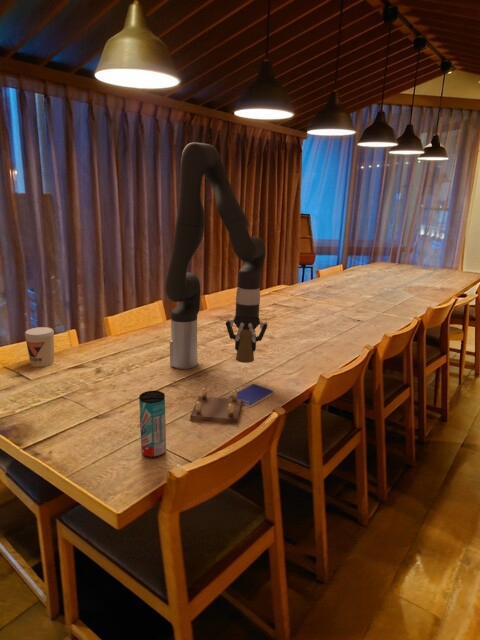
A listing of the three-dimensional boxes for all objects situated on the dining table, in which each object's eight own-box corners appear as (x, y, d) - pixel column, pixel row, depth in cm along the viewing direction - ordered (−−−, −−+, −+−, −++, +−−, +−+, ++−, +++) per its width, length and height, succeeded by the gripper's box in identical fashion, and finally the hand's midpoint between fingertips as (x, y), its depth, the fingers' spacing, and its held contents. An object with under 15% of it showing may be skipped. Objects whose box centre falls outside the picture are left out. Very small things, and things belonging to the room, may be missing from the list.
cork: (232, 356, 150) (234, 325, 147) (249, 354, 152) (251, 324, 149) (240, 363, 145) (241, 331, 142) (257, 361, 147) (259, 329, 144)
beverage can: (145, 444, 112) (143, 389, 108) (168, 446, 112) (167, 391, 108) (138, 458, 107) (135, 400, 102) (162, 460, 106) (161, 402, 102)
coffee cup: (22, 365, 158) (18, 332, 155) (41, 356, 167) (38, 325, 163) (43, 369, 155) (39, 336, 152) (62, 360, 164) (59, 328, 160)
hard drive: (249, 404, 133) (273, 390, 142) (228, 395, 137) (253, 383, 147) (249, 408, 133) (273, 395, 142) (228, 400, 138) (252, 387, 147)
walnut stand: (190, 420, 124) (190, 404, 123) (198, 400, 136) (198, 385, 134) (237, 424, 123) (237, 407, 122) (241, 403, 135) (241, 388, 133)
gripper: (270, 299, 146) (267, 349, 151) (227, 296, 147) (225, 345, 152) (269, 305, 139) (266, 357, 144) (224, 302, 140) (222, 354, 145)
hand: (245, 351), depth 148 cm, fingers closed on cork, 4 cm apart
